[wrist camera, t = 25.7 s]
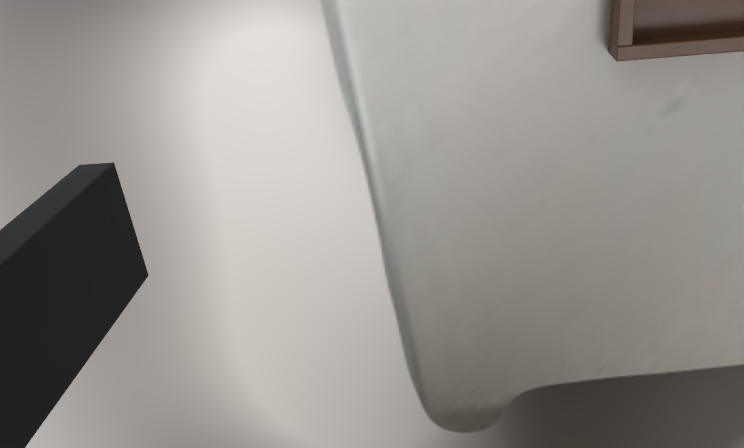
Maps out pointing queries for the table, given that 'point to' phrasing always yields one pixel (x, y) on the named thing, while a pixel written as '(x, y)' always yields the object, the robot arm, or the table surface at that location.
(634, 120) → the table surface
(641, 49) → the tray
